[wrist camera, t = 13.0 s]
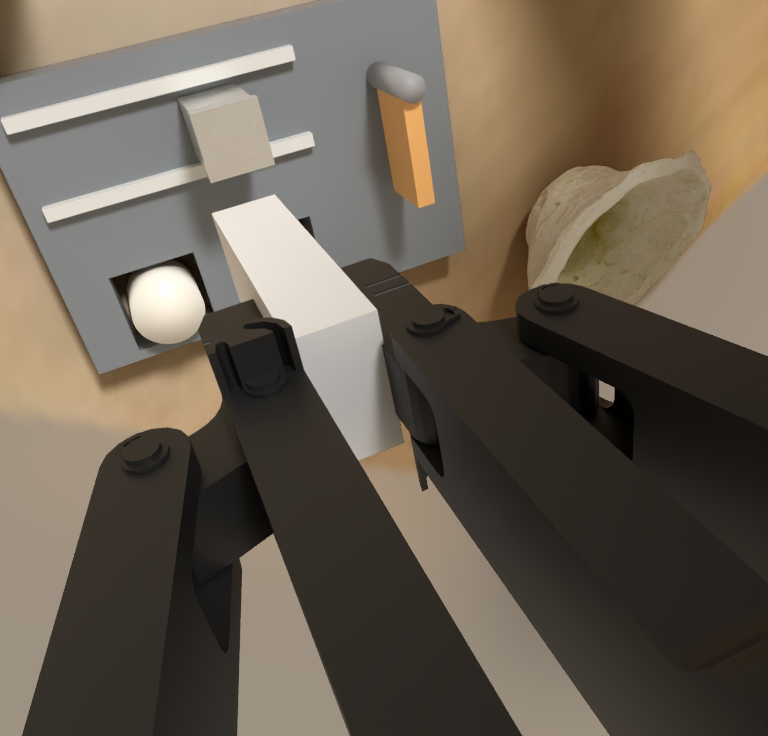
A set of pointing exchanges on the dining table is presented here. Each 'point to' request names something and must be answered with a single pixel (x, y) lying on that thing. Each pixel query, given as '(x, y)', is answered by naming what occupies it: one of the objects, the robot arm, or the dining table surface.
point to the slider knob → (226, 131)
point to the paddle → (404, 130)
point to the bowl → (616, 225)
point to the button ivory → (165, 302)
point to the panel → (189, 178)
